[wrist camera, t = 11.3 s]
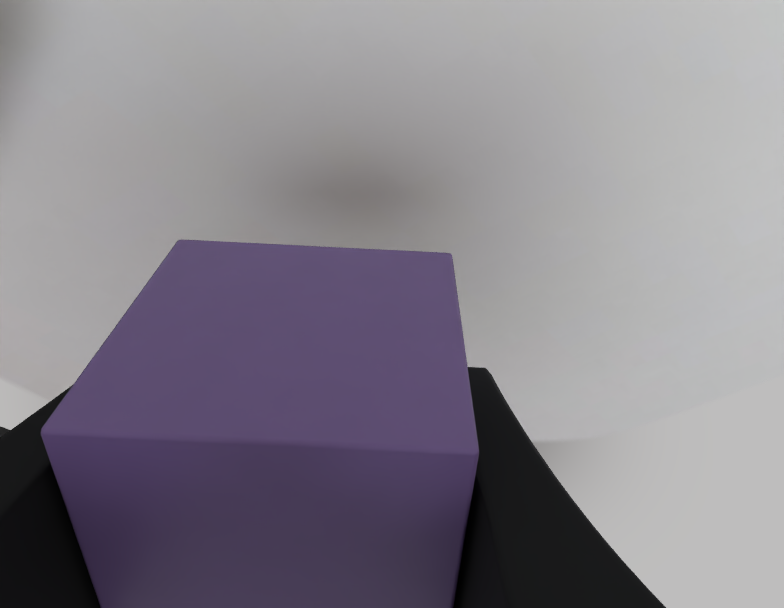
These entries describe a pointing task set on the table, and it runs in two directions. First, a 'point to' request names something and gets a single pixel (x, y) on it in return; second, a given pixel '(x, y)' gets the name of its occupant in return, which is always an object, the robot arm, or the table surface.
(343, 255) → the block
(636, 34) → the table surface
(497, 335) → the table surface
